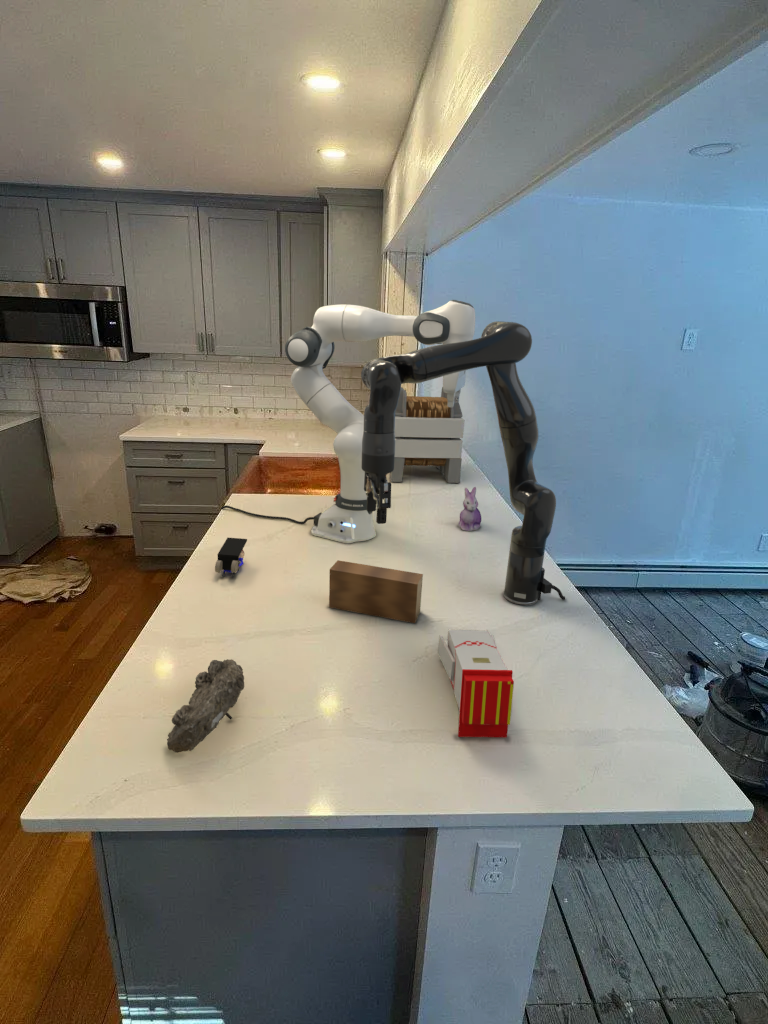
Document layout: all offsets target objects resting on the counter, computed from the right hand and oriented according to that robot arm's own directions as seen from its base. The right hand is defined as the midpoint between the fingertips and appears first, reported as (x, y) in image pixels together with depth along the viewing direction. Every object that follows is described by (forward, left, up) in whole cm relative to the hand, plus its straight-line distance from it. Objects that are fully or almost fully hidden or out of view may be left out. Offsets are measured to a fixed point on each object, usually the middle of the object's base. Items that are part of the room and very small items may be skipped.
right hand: (376, 516), depth 135 cm
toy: (-10, +33, -28) cm, 45 cm away
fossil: (+41, +25, -28) cm, 56 cm away
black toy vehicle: (+31, -38, -28) cm, 56 cm away
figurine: (-56, -52, -28) cm, 82 cm away
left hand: (-38, -38, +20) cm, 57 cm away
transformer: (-67, -123, -28) cm, 143 cm away
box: (-2, -5, -28) cm, 28 cm away
